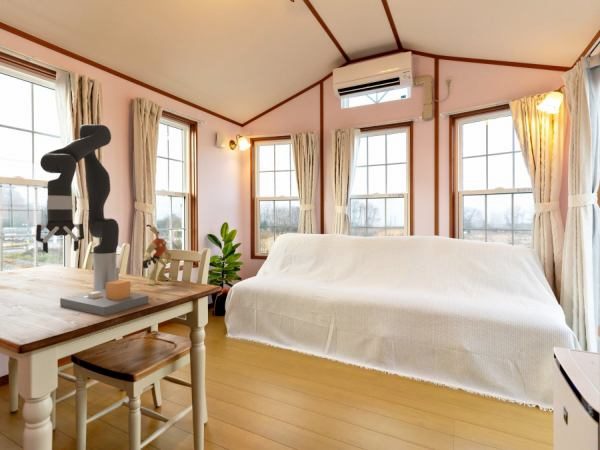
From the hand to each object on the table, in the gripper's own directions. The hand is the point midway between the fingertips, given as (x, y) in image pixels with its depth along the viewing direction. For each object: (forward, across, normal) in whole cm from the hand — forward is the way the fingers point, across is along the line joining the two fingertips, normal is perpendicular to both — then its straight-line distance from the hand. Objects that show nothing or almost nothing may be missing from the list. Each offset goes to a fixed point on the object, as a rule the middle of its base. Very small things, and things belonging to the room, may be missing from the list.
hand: (61, 251), depth 119 cm
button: (+19, -10, +3) cm, 22 cm away
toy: (+22, -40, -22) cm, 51 cm away
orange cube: (+18, -17, +9) cm, 26 cm away
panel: (+21, -13, +5) cm, 25 cm away
